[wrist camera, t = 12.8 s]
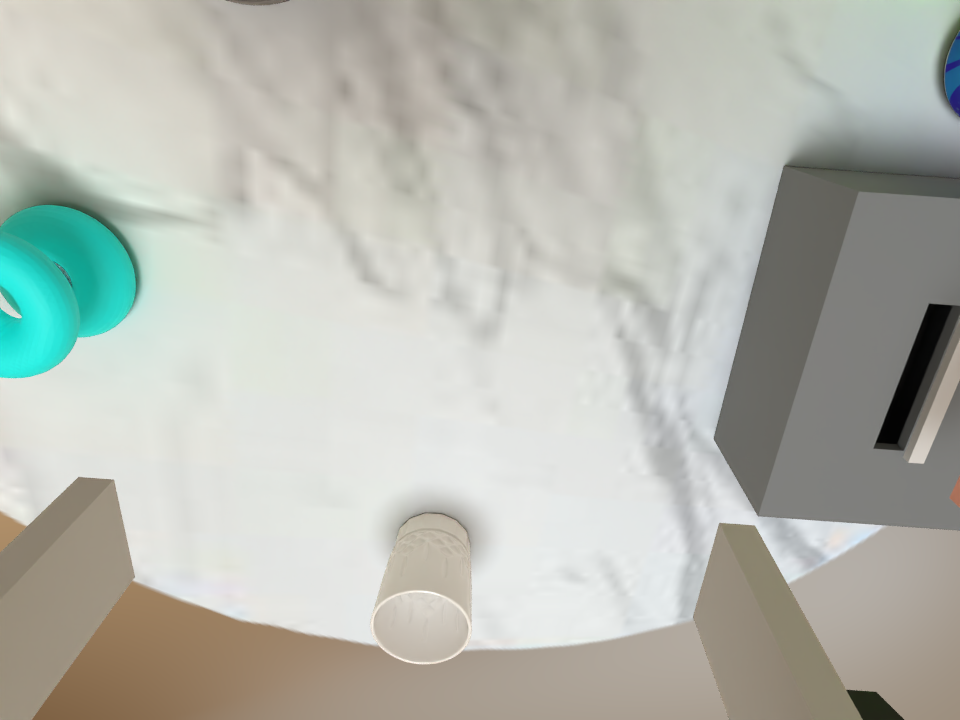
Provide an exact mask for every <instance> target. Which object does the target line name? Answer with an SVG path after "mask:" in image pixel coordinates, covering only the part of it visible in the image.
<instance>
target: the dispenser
mask: <svg viewBox="0 0 960 720" xmlns="http://www.w3.org/2000/svg"><path fill="white" fill-rule="evenodd" d="M714 440H715V442H716V444H717V446H718V447H719V449H720V451H721V453H722V454H723V456H724V458H725V460H726V461H727V463H728V465H729V466H730V468H731V470H732V472H733V473H734V475H735V477H736V479H737V480H738V482H739V484H740V486H741V487H742V489H743V491H744V493H745V494H746V496H747V498H748V500H749V501H750V503H751V505H752V506H753V508H754V510H755V512H756V513H757V515H758V516H763V517H777V518H791V519H805V520H818V521H832V522H846V523H860V524H874V525H888V526H902V527H903V526H904V527H916V528H930V529H944V530H958V531H960V508H959V507H958V506H957V505H956V504H955V503H954V502H953V501H952V500H951V499H950V495H951V493H952V491H953V489H954V487H955V485H956V482H957V480H958V478H959V476H960V179H959V178H945V177H931V176H917V175H903V174H889V173H875V172H861V171H847V170H832V169H818V168H804V167H790V166H784V168H783V172H782V176H781V180H780V183H779V187H778V191H777V195H776V199H775V203H774V207H773V211H772V215H771V218H770V222H769V226H768V230H767V234H766V238H765V242H764V246H763V250H762V253H761V257H760V261H759V265H758V269H757V273H756V277H755V281H754V285H753V288H752V292H751V296H750V300H749V304H748V308H747V312H746V316H745V319H744V323H743V327H742V331H741V335H740V339H739V343H738V347H737V351H736V354H735V358H734V362H733V366H732V370H731V374H730V378H729V382H728V386H727V389H726V393H725V397H724V401H723V405H722V409H721V413H720V417H719V421H718V424H717V428H716V432H715V436H714Z"/></svg>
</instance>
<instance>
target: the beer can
mask: <svg viewBox="0 0 960 720" xmlns="http://www.w3.org/2000/svg"><path fill="white" fill-rule="evenodd" d="M944 85H945V92H946V96H947V99H948V101H949V103H950V105H951V107H952V109H953V110H954V112H955V113H956V114H957V115H958V116H959V117H960V30H959V32H958V34H957V35H956V37H955V39H954V41H953V43H952V45H951V47H950V50H949V52H948V55H947V58H946V63H945V69H944Z"/></svg>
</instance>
